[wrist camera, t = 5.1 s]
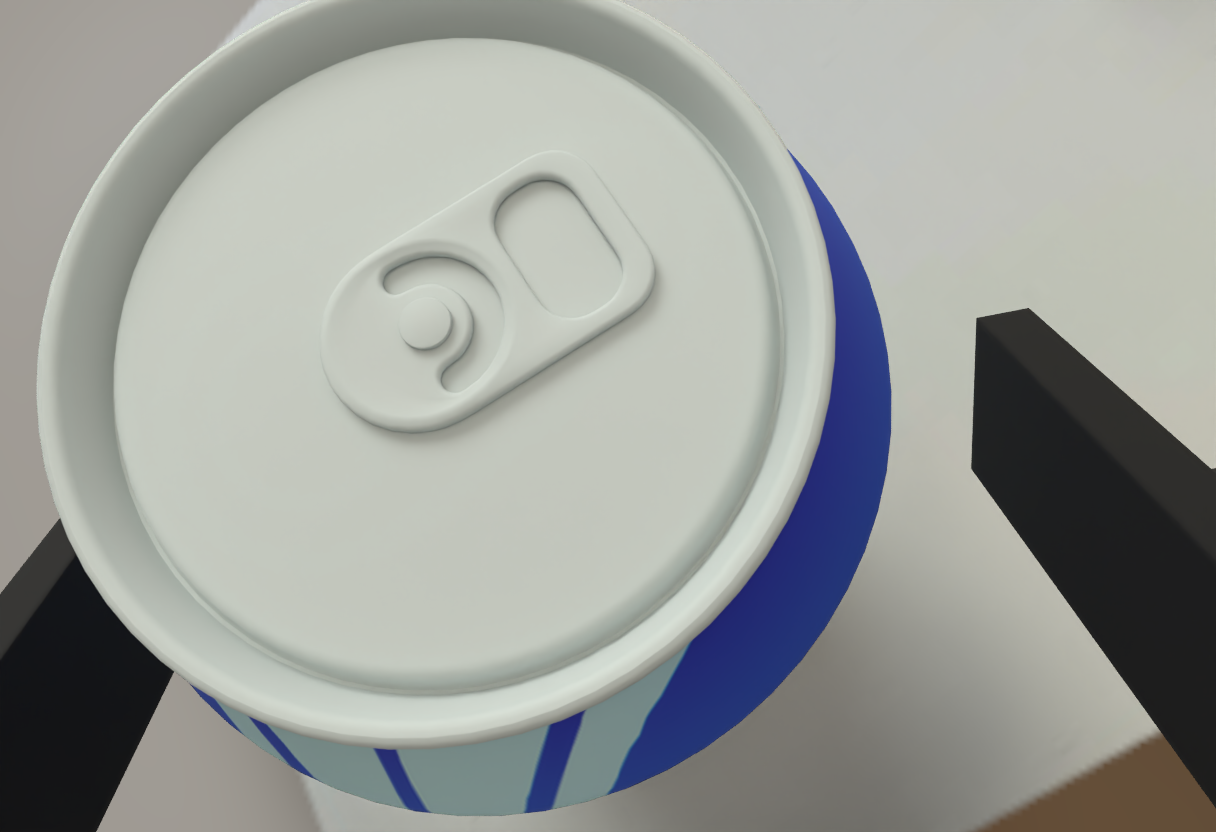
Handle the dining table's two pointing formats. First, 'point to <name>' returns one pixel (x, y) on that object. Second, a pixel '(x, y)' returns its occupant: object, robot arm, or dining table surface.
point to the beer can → (465, 397)
